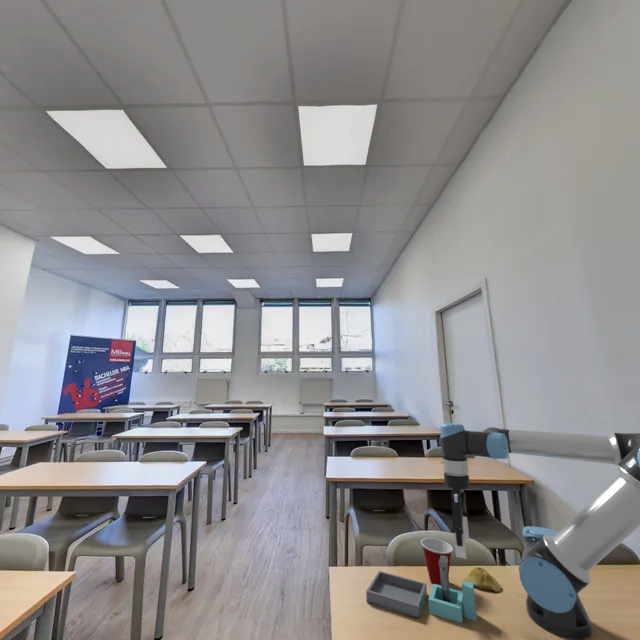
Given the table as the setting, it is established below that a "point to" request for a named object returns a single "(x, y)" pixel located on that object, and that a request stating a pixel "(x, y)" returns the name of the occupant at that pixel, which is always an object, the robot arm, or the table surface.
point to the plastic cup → (435, 557)
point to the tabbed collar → (454, 603)
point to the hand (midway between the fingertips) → (463, 547)
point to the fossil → (482, 579)
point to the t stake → (444, 578)
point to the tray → (397, 594)
